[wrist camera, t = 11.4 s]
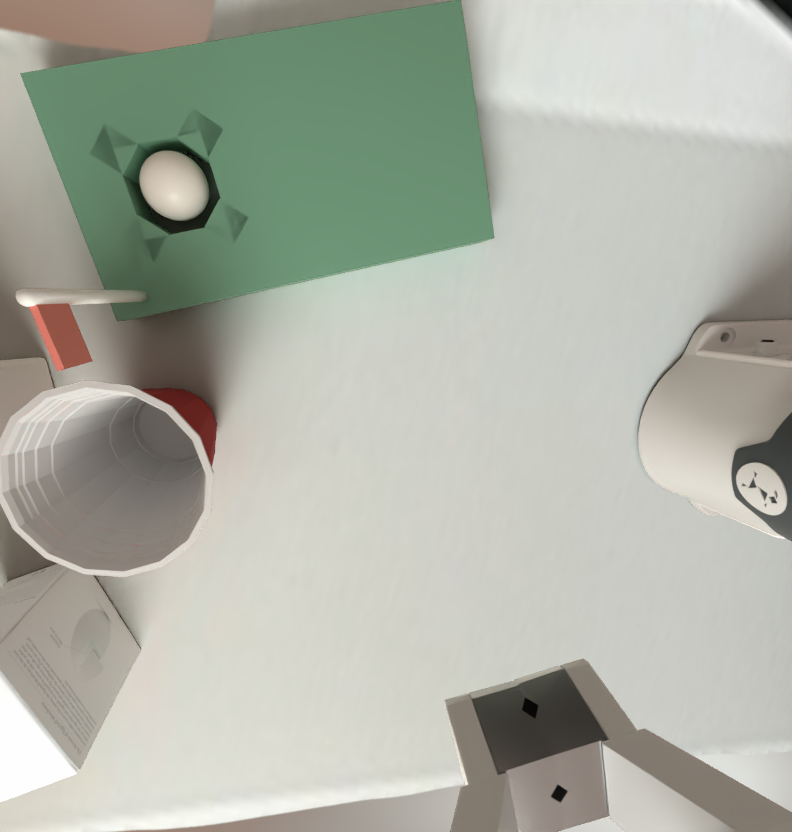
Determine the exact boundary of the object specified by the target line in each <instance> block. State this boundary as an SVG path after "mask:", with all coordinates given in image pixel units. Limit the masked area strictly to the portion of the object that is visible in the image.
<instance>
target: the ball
mask: <svg viewBox="0 0 792 832" xmlns="http://www.w3.org/2000/svg"><path fill="white" fill-rule="evenodd" d="M139 182H140V187H141V191H142V194H143V196H144V198H145V199H146V201H147V202H148V204H149V205H150V206H151V207H152V208H153V209H154V210H155V211H156V212H158V213H159V214H160V215H162V216H164V217H166V218H169V219H172V220H176V221H186V220H190V219H193V218H195V217H197V216H198V215H200V214H201V213H202V212H203V210H204V209H205V208H206V205H207V203H208V200H209V185H208V182H207V179H206V176H205V174H204V173H203V171H202V169H201V168H200V167H199V166H198V165H197V164H196V163H195V162H194V161H193V160H192V159H191V158H189V157H188V156H186V155H184V154H182V153H179V152H176V151H167V150H165V151H159V152H156V153H154V154H152V155H151V156H149V157H148V158H147V159H146V160H145V162H144V163H143V165H142V167H141V170H140V176H139Z"/></svg>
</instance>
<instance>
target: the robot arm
mask: <svg viewBox="0 0 792 832" xmlns="http://www.w3.org/2000/svg"><path fill="white" fill-rule="evenodd" d="M721 335H722V339H721ZM638 445H639V452H640V457H641V460H642V463H643V465H644V468H645V469H646V471H647V473H648V474H649V476H650V477H651V478H652V479H653V480H654V481H655V482H656V483H657V484H658V485H659V486H661V487H662V488H664V489H666V490H668V491H670V492H673V493H676V494H678V495H681V496H684V497H686V498H687V499H688V500H689V501H690V502H691V503H692V505H693V506H694V507H695V508H696V509H697V510H699V511H700V512H702V513H704V514H707V515H709V516H717V515H719V514H723V515H725V516H727V517H730V518H732V519H734V520H736V521H739V522H741V523H743V524H746V525H748V526H750V527H753V528H755V529H757V530H760V531H762V532H765V533H767V534H769V535H772V536H774V537H777V538H786V539H788V540H790V541H792V319H791V320H762V321H734V322H709V323H705V324H703V325H701V326H700V327H699V328H698V329H697V330H696V332H695V333H694V335H693V337H692V338H691V340H690V342H689V344H688V346H687V348H686V350H685V352H684V354H683V356H682V357H681V358H680V360H679V361H678V362H677V363H676V364H675V365H674V366H673V367H672V368H671V369H670V370H669V371H668V372H667V373H666V374H665V375H664V376H663V377H662V379H661V380H660V381H659V382H658V384H657V385H656V387H655V388H654V390H653V391H652V393H651V395H650V396H649V398H648V400H647V403H646V405H645V407H644V410H643V413H642V416H641V420H640V425H639V433H638ZM445 705H446V710H447V714H448V719H449V723H450V727H451V732H452V736H453V740H454V744H455V749H456V753H457V757H458V761H459V765H460V769H461V773H462V776H463V780H464V784H465V786H462V787H461V789H460V793H459V797H458V801H457V805H456V809H455V813H454V818H453V822H452V826H451V830H450V832H558V831H561V830H564V829H567V828H571V827H573V826H577V825H581V824H584V823H587V822H591V821H594V820H597V819H601V818H604V817H607V816H610V819H611V820H612V821H613V822H614V823H615V824H616V825H617V826H619V827H620V828H621V829H622V830H623V831H624V832H792V812H790V811H788V810H786V809H785V808H783V807H781V806H780V805H778V804H776V803H774V802H773V801H771V800H769V799H767V798H766V797H764V796H762V795H760V794H759V793H757V792H755V791H753V790H751V789H750V788H748V787H746V786H744V785H743V784H741V783H739V782H738V781H736V780H734V779H732V778H731V777H729V776H727V775H725V774H724V773H722V772H720V771H718V770H717V769H715V768H713V767H711V766H710V765H708V764H706V763H704V762H703V761H701V760H699V759H697V758H696V757H694V756H692V755H690V754H689V753H687V752H685V751H683V750H682V749H680V748H678V747H676V746H675V745H673V744H671V743H669V742H668V741H666V740H664V739H662V738H661V737H659V736H657V735H655V734H654V733H652V732H650V731H648V730H647V729H641V730H637V729H636V728H635V726H634V725H633V724H632V722H631V721H630V719H629V718H628V717H627V715H626V714H625V712H624V711H623V710H622V708H621V707H620V706H619V704H618V703H617V701H616V700H615V699H614V697H613V696H612V694H611V693H610V692H609V690H608V689H607V687H606V686H605V685H604V683H603V682H602V680H601V679H600V678H599V676H598V675H597V673H596V672H595V671H594V669H593V668H592V666H591V665H590V664H589V662H588V661H586V660H585V659H580V660H577V661H574V662H570V663H567V664H564V665H561V666H556V667H553V668H549V669H546V670H543V671H540V672H537V673H534V674H531V675H527V676H524V677H521V678H518V679H515V680H514V681H511V682H507V683H504V684H500V685H496V686H493V687H489V688H485V689H481V690H478V691H474V692H470V693H469V694H464V695H460V696H457V697H453V698H450V699H446V700H445Z"/></svg>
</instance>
